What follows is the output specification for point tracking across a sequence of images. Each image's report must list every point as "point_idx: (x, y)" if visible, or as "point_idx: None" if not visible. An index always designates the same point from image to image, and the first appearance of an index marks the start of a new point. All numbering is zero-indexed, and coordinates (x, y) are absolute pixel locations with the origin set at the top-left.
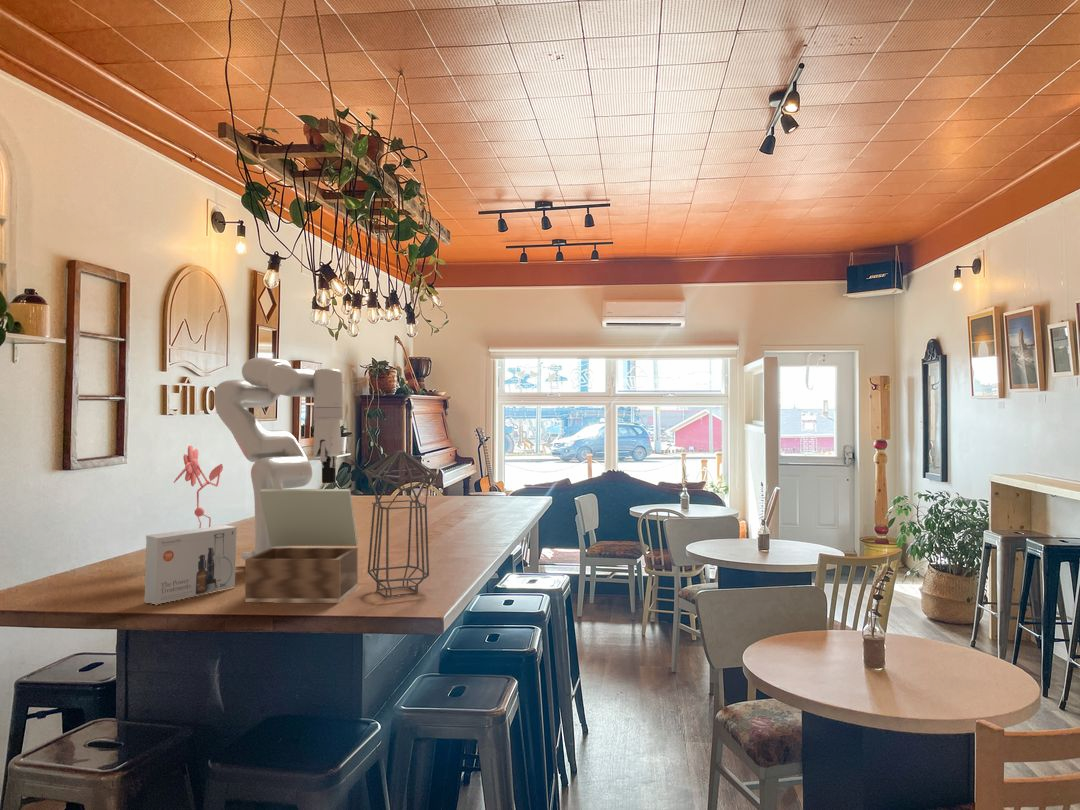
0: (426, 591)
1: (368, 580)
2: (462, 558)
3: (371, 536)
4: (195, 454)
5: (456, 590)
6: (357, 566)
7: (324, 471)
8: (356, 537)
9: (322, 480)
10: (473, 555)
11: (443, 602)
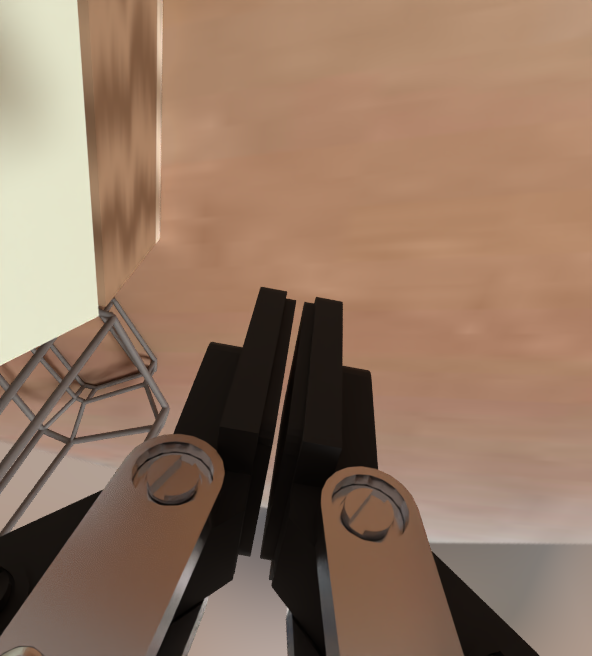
0: (110, 405)
1: (259, 266)
2: (529, 507)
3: (5, 392)
4: None
5: (124, 458)
6: (133, 269)
7: (179, 421)
8: (66, 329)
9: (258, 303)
10: (564, 532)
11: (8, 428)
